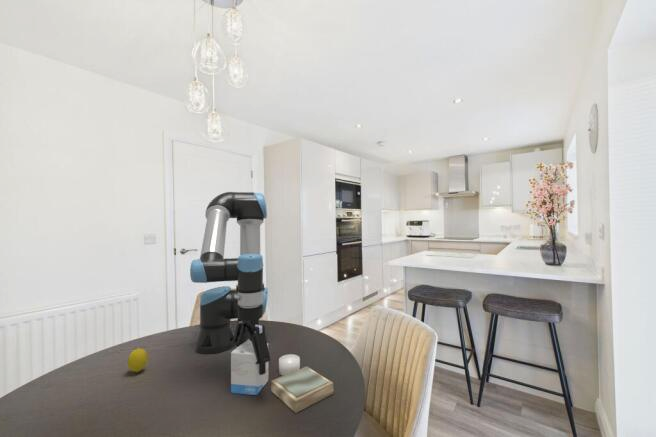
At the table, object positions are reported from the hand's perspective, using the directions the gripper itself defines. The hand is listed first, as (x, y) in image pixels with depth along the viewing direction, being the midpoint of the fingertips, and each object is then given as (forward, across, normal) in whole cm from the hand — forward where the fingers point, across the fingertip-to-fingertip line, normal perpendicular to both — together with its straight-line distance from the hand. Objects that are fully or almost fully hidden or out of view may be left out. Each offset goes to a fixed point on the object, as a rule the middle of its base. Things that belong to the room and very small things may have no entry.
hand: (250, 375), depth 85 cm
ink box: (+4, 0, 0) cm, 4 cm away
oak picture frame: (+3, +13, +10) cm, 17 cm away
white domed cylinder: (+3, 0, +14) cm, 14 cm away
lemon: (+4, -33, -25) cm, 42 cm away
